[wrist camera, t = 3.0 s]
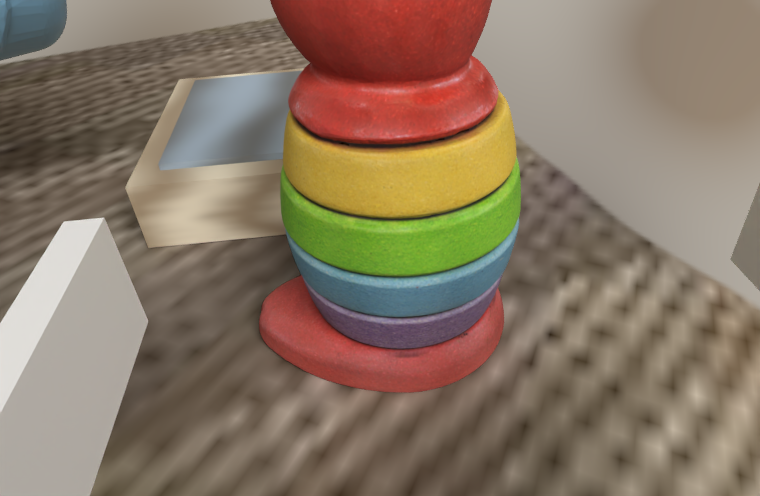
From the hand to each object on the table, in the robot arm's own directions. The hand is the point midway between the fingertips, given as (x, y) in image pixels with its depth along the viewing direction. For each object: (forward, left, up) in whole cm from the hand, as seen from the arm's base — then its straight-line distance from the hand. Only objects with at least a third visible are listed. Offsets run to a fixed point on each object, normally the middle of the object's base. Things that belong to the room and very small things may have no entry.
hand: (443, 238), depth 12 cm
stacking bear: (0, +10, -12) cm, 16 cm away
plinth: (-6, +25, -12) cm, 28 cm away
